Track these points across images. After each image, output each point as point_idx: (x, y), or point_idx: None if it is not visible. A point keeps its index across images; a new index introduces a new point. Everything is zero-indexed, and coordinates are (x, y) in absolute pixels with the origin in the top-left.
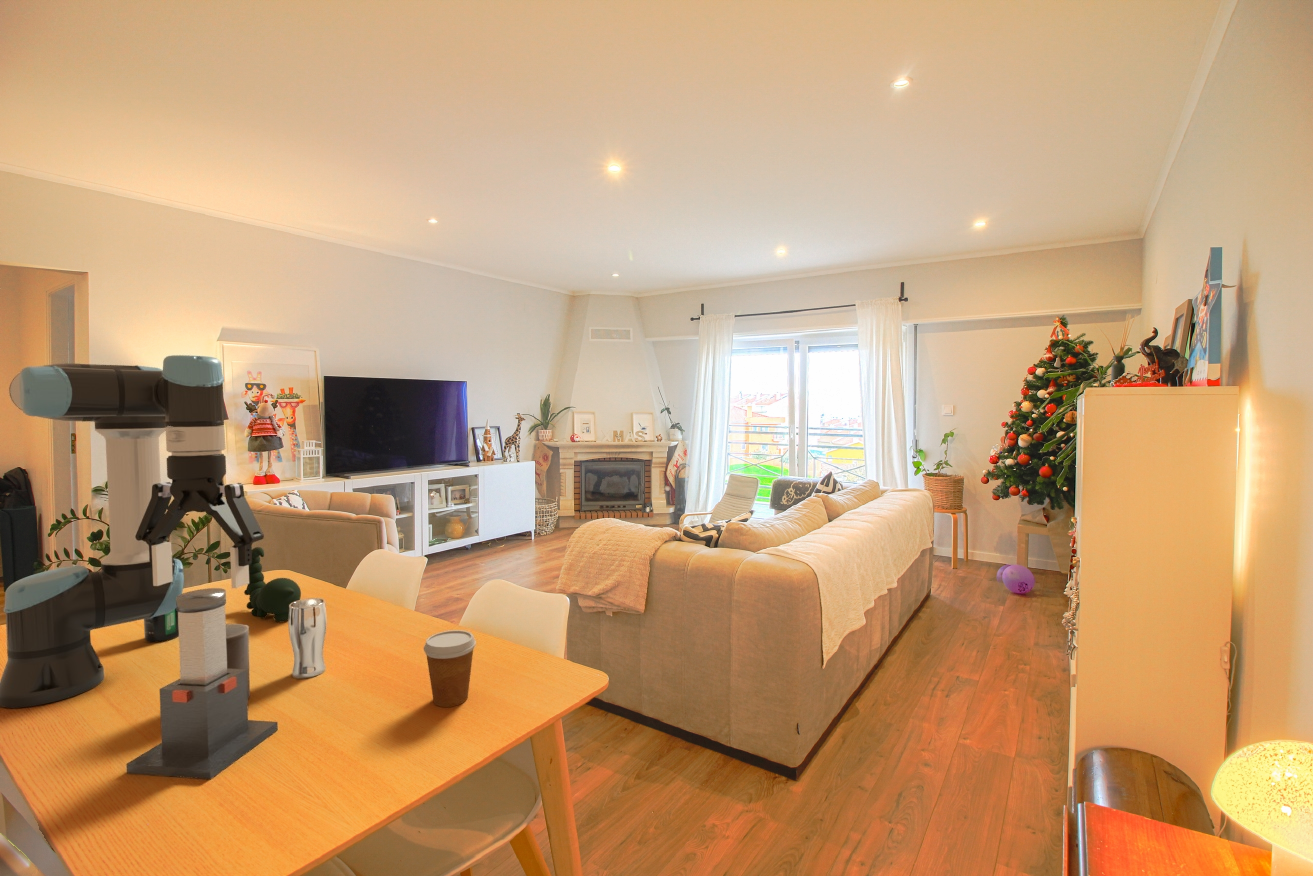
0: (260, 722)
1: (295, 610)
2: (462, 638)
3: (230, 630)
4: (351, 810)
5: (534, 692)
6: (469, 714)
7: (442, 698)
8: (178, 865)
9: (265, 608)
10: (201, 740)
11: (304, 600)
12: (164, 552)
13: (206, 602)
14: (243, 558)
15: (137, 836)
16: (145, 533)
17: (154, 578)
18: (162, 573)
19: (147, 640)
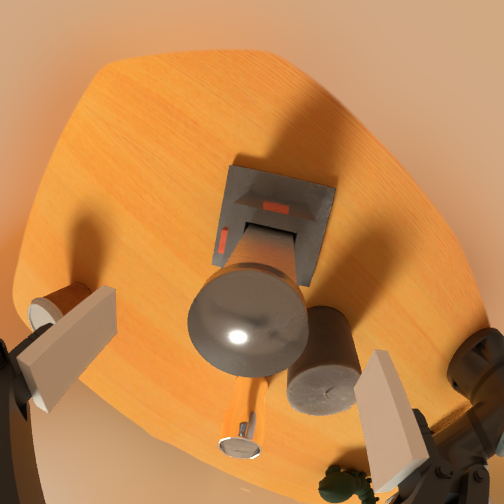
0: None
1: (245, 435)
2: (38, 327)
3: (309, 396)
4: (88, 121)
5: (36, 294)
6: (59, 265)
7: (75, 285)
8: (185, 51)
9: (346, 475)
10: (253, 195)
11: (251, 456)
12: (384, 450)
13: (206, 284)
14: (34, 337)
15: (245, 80)
16: (462, 495)
17: (389, 365)
18: (374, 388)
19: (433, 432)
